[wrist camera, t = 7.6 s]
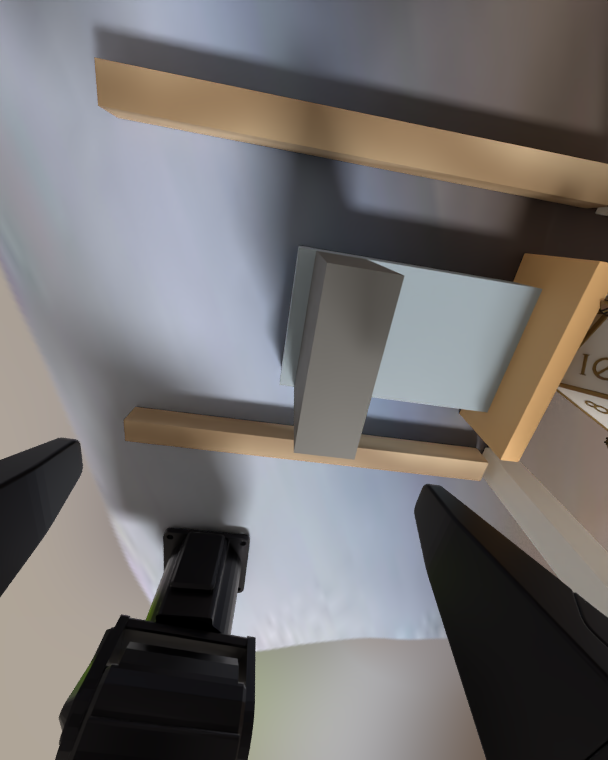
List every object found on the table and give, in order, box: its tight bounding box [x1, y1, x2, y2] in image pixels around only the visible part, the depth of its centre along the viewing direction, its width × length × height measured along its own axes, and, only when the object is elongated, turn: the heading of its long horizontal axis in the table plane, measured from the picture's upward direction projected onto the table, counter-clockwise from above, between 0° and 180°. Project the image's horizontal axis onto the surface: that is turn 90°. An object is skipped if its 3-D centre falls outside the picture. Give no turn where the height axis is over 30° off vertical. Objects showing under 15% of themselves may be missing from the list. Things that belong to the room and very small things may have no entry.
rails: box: [94, 58, 608, 481], centre depth 18 cm, size 18×23×2 cm
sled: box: [280, 245, 608, 462], centre depth 15 cm, size 10×13×8 cm
